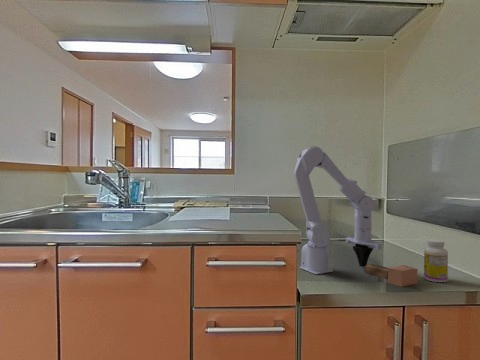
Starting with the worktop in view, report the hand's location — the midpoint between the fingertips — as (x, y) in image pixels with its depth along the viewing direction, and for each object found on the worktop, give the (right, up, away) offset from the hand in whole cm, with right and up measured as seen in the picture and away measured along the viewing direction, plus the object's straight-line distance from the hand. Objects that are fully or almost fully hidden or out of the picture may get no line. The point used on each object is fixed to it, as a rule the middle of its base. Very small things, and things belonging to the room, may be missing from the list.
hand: (362, 266), depth 119 cm
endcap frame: (+4, -2, -7) cm, 8 cm away
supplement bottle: (+19, -2, -12) cm, 23 cm away
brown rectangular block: (+3, -2, -6) cm, 7 cm away
